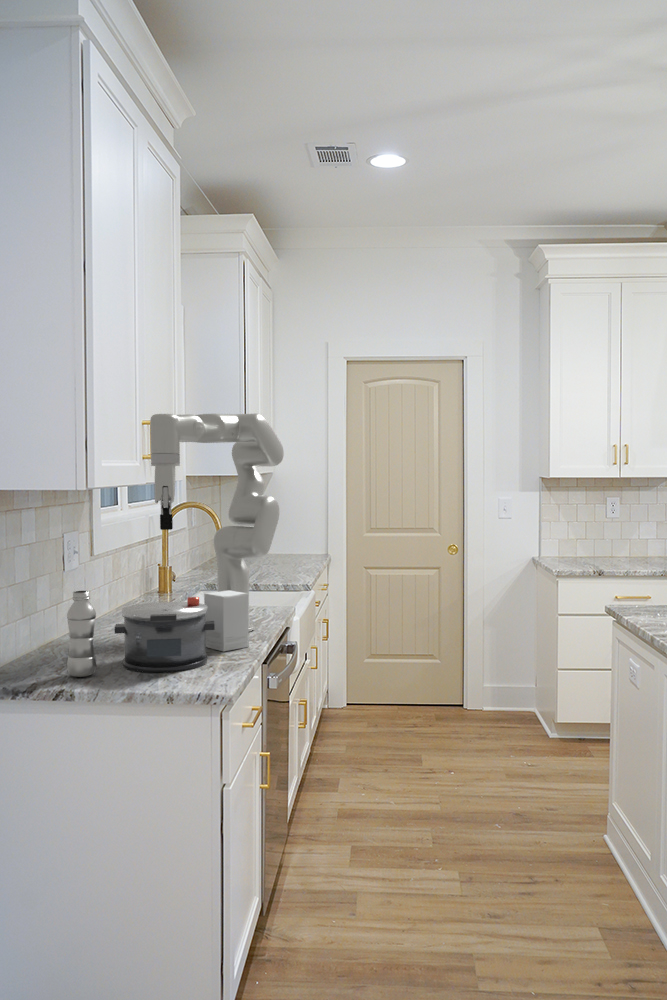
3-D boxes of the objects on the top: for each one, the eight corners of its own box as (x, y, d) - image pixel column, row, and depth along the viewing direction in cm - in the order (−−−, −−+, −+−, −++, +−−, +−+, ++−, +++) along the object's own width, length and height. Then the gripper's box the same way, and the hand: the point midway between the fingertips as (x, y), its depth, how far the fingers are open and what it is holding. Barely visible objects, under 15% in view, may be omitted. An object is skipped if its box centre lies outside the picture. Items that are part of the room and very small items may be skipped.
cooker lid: (125, 609, 207) (125, 595, 207) (206, 606, 211) (206, 593, 211) (117, 623, 184) (117, 608, 184) (208, 620, 188) (208, 605, 188)
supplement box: (250, 647, 217) (249, 592, 216) (223, 652, 211) (223, 596, 210) (230, 642, 223) (229, 589, 223) (203, 647, 217) (203, 592, 216)
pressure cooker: (119, 654, 208) (119, 608, 208) (213, 650, 213) (213, 605, 212) (111, 675, 187) (110, 624, 186) (215, 670, 191) (215, 620, 191)
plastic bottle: (74, 672, 190) (72, 589, 189) (101, 673, 189) (100, 589, 188) (62, 679, 183) (60, 593, 183) (90, 680, 183) (89, 594, 182)
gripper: (152, 460, 216) (153, 527, 217) (149, 460, 202) (150, 532, 203) (179, 460, 218) (180, 527, 219) (179, 460, 203) (180, 531, 204)
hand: (166, 529), depth 211 cm, fingers closed
